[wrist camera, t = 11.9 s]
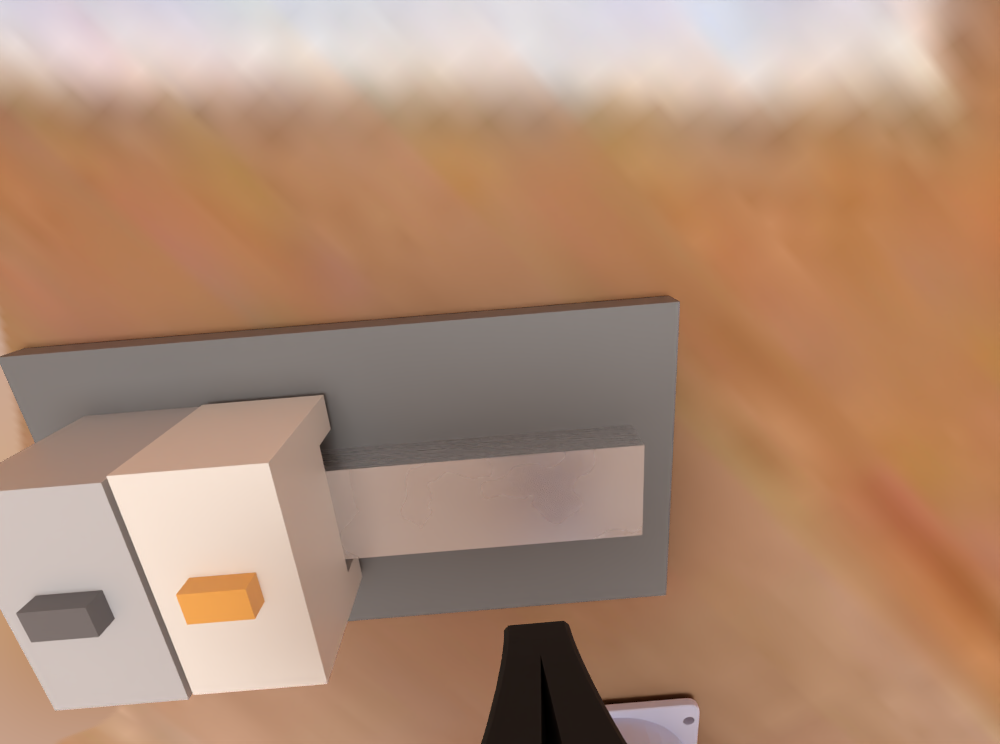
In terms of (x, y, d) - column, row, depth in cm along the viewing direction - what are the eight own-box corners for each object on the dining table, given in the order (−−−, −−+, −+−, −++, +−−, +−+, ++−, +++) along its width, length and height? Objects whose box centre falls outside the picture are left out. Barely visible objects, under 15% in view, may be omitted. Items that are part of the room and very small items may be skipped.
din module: (362, 576, 19) (321, 703, 14) (257, 584, 19) (182, 714, 14) (323, 394, 16) (257, 476, 12) (202, 404, 16) (87, 490, 12)
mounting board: (657, 577, 21) (666, 595, 20) (138, 619, 21) (122, 639, 20) (668, 295, 17) (679, 301, 16) (24, 348, 17) (-3, 357, 16)
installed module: (257, 583, 19) (176, 719, 14) (154, 591, 19) (37, 730, 14) (202, 406, 17) (81, 496, 12) (84, 415, 17) (-88, 510, 12)
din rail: (630, 509, 19) (641, 535, 17) (124, 550, 18) (94, 580, 17) (631, 424, 17) (644, 445, 16) (90, 469, 17) (55, 493, 16)
